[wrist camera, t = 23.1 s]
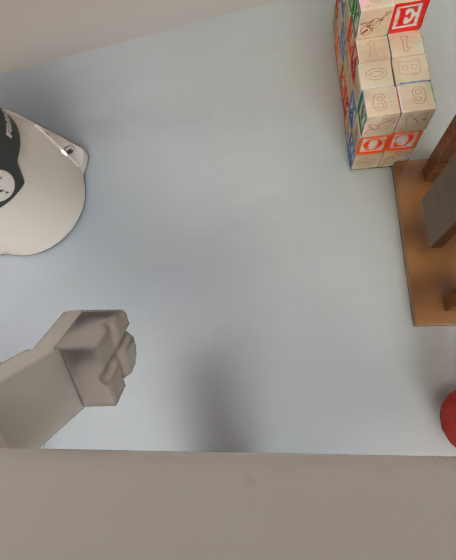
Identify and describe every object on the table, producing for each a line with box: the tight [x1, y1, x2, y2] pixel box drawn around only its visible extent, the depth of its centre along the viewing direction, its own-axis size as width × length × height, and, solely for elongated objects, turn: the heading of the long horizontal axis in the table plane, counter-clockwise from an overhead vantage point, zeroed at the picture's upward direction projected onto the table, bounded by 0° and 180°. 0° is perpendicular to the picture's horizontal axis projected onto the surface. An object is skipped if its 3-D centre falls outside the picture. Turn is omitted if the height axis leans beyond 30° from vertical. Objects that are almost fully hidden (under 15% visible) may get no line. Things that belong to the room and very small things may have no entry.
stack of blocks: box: [333, 0, 436, 170], centre depth 41 cm, size 21×6×12 cm, turn 1°
